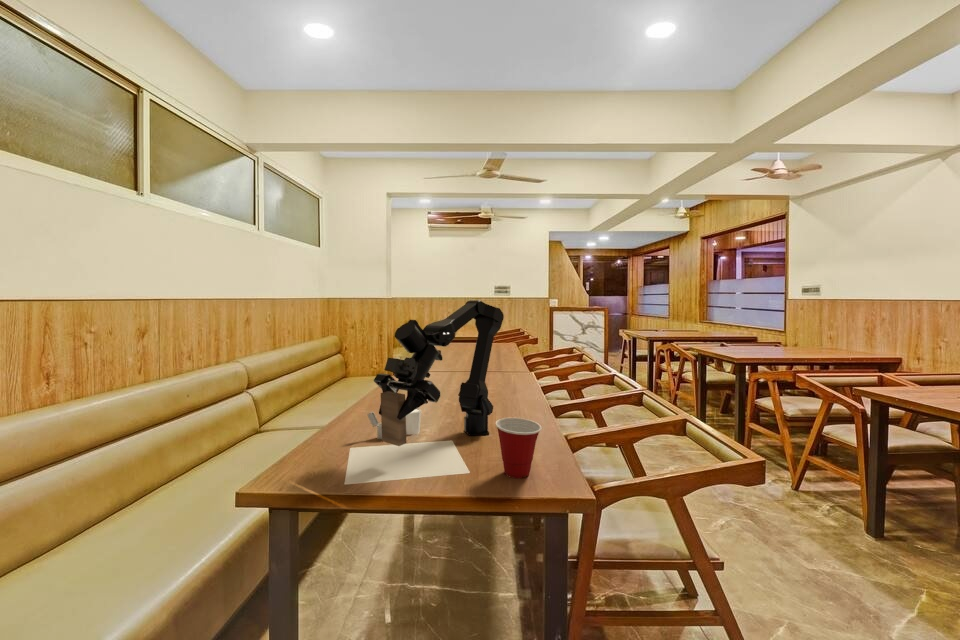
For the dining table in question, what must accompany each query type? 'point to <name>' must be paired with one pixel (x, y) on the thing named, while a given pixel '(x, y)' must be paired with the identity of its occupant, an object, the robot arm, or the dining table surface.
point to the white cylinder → (413, 422)
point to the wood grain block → (392, 418)
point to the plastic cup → (517, 444)
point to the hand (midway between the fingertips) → (389, 416)
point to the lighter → (375, 424)
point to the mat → (403, 462)
